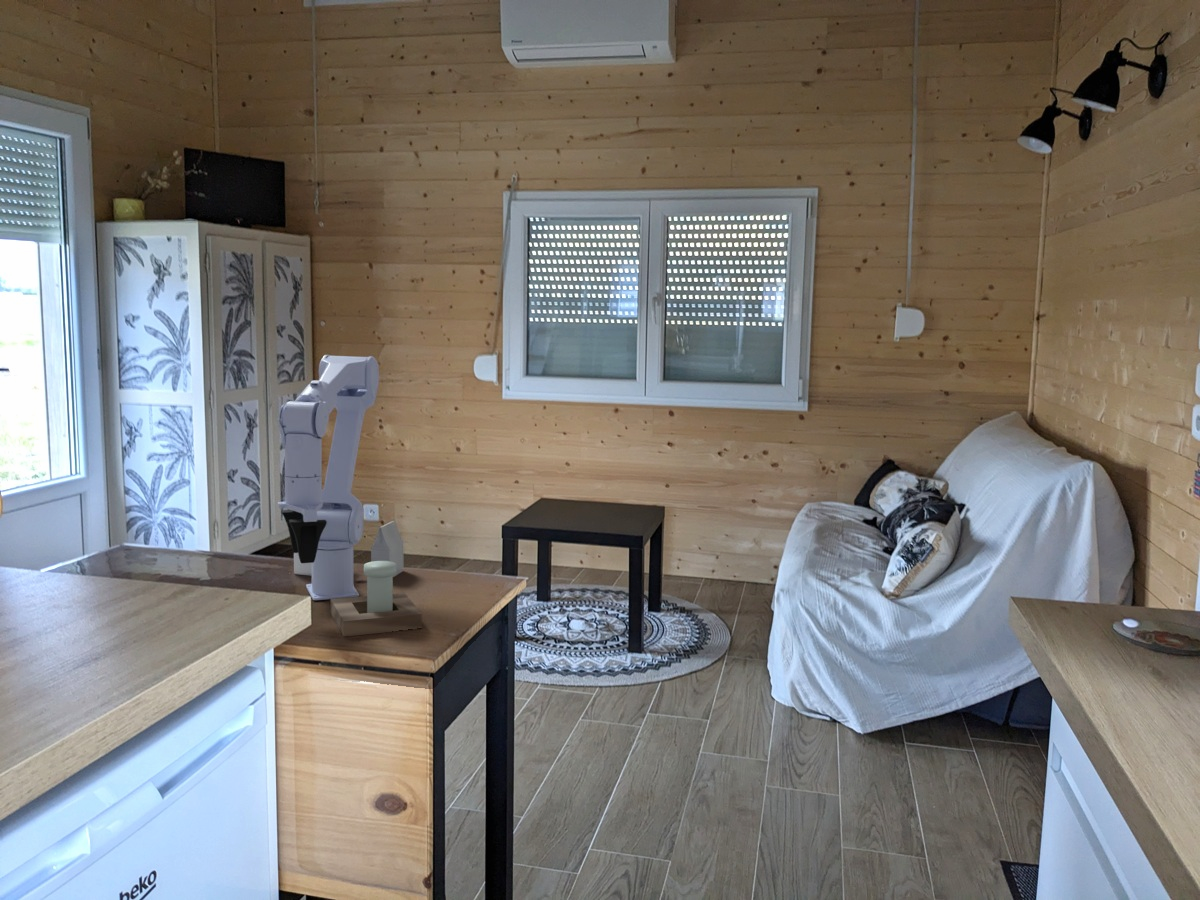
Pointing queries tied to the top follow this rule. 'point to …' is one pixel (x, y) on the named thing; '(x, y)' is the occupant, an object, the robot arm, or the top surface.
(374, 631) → the walnut holder
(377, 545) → the grey gabled block
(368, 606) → the green peg
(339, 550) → the robot arm
